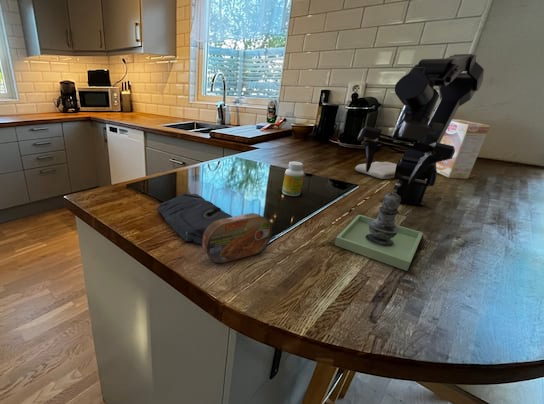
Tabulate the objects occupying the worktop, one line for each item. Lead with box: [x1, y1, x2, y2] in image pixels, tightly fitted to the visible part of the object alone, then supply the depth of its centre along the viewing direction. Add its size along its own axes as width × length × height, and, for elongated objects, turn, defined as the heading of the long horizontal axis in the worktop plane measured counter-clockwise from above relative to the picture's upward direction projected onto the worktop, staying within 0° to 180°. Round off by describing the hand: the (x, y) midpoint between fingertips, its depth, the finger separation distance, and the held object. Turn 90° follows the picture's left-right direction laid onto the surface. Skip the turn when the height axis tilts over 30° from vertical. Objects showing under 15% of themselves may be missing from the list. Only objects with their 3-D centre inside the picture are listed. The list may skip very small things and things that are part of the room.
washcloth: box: [354, 161, 397, 180], centre depth 113 cm, size 12×18×3 cm, turn 114°
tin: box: [201, 212, 273, 264], centre depth 59 cm, size 15×3×8 cm, turn 114°
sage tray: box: [334, 214, 424, 272], centre depth 65 cm, size 16×13×2 cm
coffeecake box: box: [436, 118, 491, 180], centre depth 112 cm, size 15×7×20 cm, turn 172°
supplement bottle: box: [281, 161, 305, 197], centre depth 91 cm, size 5×5×10 cm
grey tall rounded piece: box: [366, 189, 401, 247], centre depth 63 cm, size 6×6×12 cm
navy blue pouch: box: [156, 193, 233, 246], centre depth 73 cm, size 15×22×5 cm
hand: (387, 177), depth 72 cm, fingers open, 9 cm apart
